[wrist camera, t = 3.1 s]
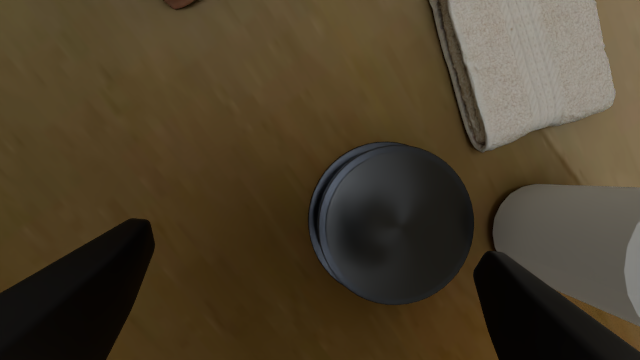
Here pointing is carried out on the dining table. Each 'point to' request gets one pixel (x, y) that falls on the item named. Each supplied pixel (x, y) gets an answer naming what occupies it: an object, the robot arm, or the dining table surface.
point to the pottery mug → (178, 3)
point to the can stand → (391, 222)
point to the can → (577, 242)
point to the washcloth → (523, 64)
